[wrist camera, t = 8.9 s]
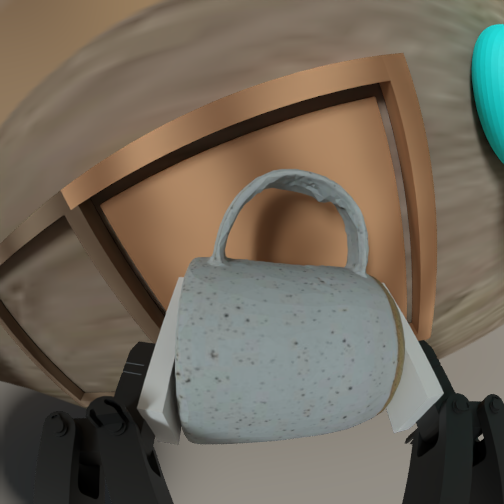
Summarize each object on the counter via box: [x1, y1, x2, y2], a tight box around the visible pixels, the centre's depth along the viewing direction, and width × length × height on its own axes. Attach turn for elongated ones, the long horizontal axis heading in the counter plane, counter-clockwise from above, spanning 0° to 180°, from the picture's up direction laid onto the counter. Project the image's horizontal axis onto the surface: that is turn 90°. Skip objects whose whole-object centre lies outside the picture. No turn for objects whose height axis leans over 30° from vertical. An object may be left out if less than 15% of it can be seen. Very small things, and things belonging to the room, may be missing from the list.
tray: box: [0, 53, 437, 407], centre depth 16 cm, size 35×18×1 cm, turn 111°
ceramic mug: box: [175, 169, 405, 444], centre depth 10 cm, size 11×8×8 cm
